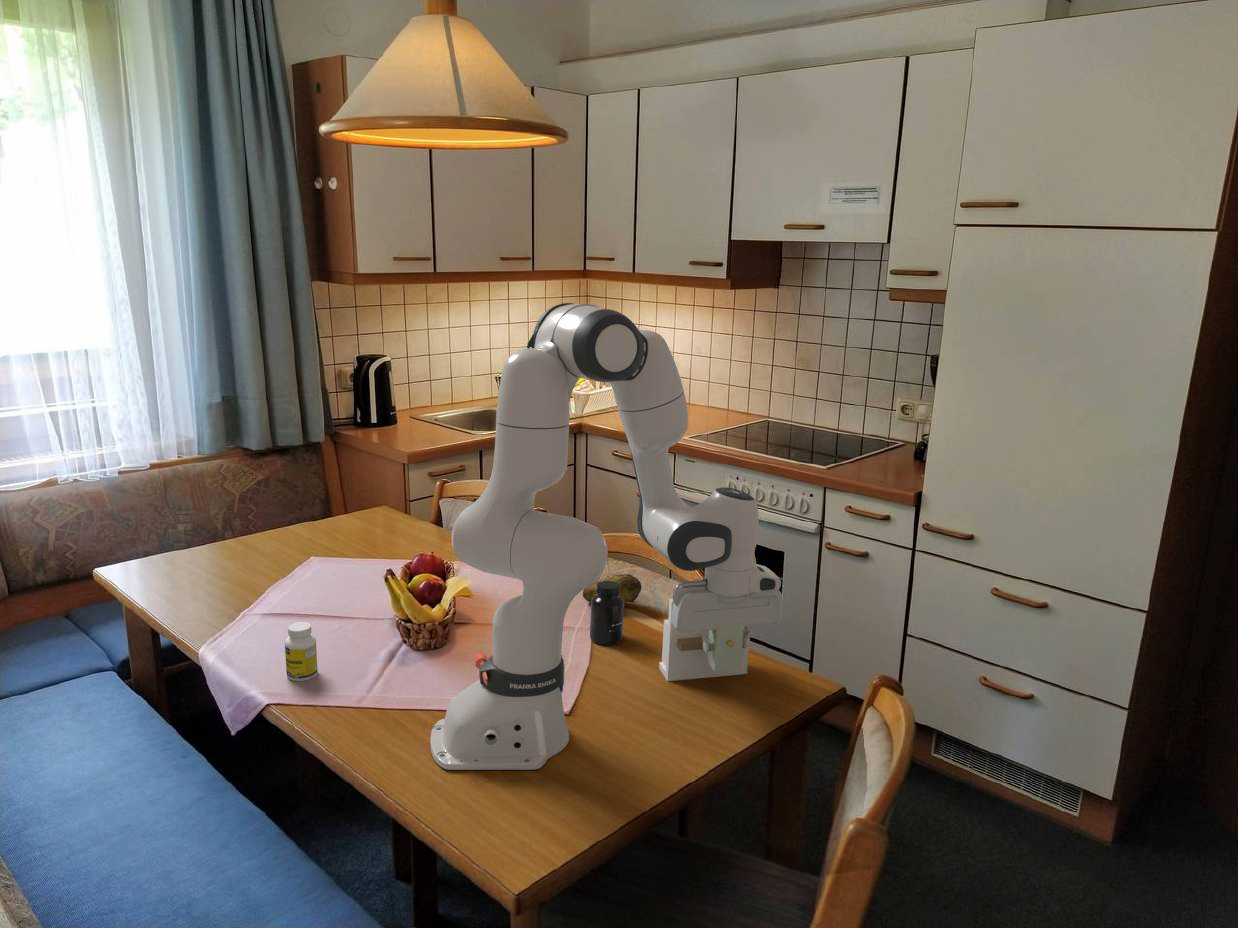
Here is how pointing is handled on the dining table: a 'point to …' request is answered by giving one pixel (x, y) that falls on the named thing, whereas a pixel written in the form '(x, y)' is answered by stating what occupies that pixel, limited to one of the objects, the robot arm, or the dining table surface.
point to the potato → (628, 588)
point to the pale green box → (726, 647)
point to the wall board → (690, 655)
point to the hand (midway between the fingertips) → (724, 648)
